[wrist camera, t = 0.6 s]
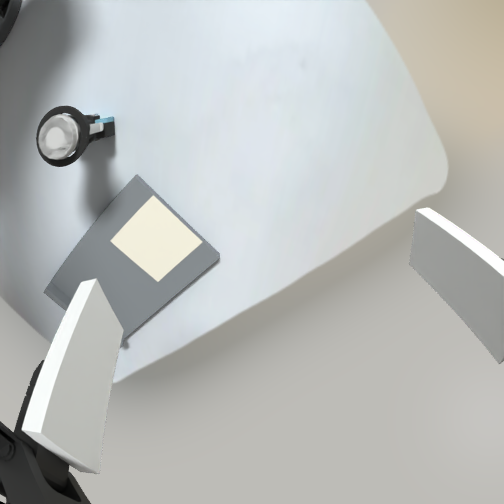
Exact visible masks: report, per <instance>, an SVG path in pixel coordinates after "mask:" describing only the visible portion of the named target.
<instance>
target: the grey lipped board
mask: <svg viewBox="0 0 504 504" xmlns="http://www.w3.org/2000/svg"><path fill="white" fill-rule="evenodd" d="M219 258H220V255H219V252H217V251H216V250H215V249H214V248H213V247H212V246H211V245H210V244H209V243H208V242H207V241H206V240H205V239H204V238H203V237H202V236H201V235H199V234H198V233H197V232H196V231H195V230H194V229H193V228H192V227H191V226H190V225H189V224H188V223H187V222H186V221H185V220H184V219H183V218H182V217H181V216H180V215H178V214H177V213H176V212H175V211H174V210H173V209H172V208H171V207H170V206H169V205H168V204H167V203H166V202H165V201H164V200H163V199H162V198H161V197H160V196H159V195H158V194H157V193H156V192H155V191H154V190H153V189H152V188H151V187H150V186H149V185H147V184H146V183H145V182H144V181H143V180H142V179H141V178H140V177H139V176H138V175H136V176H135V177H134V178H133V179H132V180H131V181H130V182H129V183H128V184H127V185H126V186H125V187H124V189H123V190H122V191H121V192H120V193H119V194H118V195H117V196H116V198H115V199H114V200H113V201H112V202H111V203H110V204H109V206H108V207H107V208H106V209H105V210H104V212H103V213H102V214H101V215H100V216H99V218H98V219H97V220H96V221H95V222H94V224H93V225H92V226H91V227H90V229H89V230H88V231H87V232H86V234H85V235H84V236H83V238H82V239H81V240H80V241H79V243H78V244H77V245H76V247H75V248H74V249H73V251H72V252H71V253H70V255H69V256H68V258H67V259H66V260H65V262H64V263H63V265H62V266H61V267H60V269H59V270H58V272H57V273H56V275H55V276H54V277H53V279H52V280H51V282H50V283H49V285H48V286H47V288H46V289H45V291H44V293H45V294H46V295H47V296H49V297H50V298H51V299H52V300H53V301H55V302H56V303H57V304H58V305H59V306H61V307H62V308H63V309H64V310H66V311H67V309H68V307H69V305H70V303H71V301H72V299H73V297H74V295H75V293H76V291H77V289H78V287H79V285H80V283H81V282H83V281H88V280H92V279H96V278H97V280H98V282H99V284H100V286H101V288H102V290H103V292H104V294H105V296H106V298H107V300H108V302H109V304H110V306H111V308H112V310H113V311H114V313H115V315H116V317H117V319H118V321H119V322H120V324H121V326H122V328H123V329H124V331H123V335H122V340H121V344H120V348H121V347H122V346H123V342H124V339H125V338H126V337H127V336H128V335H129V334H131V333H132V332H133V331H134V330H135V329H136V328H138V327H139V326H140V325H141V324H142V323H143V322H145V321H146V320H147V319H148V318H149V317H150V316H152V315H153V314H154V313H155V312H156V311H157V310H159V309H160V308H161V307H162V306H163V305H164V304H166V303H167V302H168V301H169V300H170V299H172V298H173V297H174V296H175V295H176V294H177V293H179V292H180V291H181V290H182V289H183V288H185V287H186V286H187V285H188V284H189V283H191V282H192V281H193V280H194V279H195V278H196V277H198V276H199V275H200V274H201V273H202V272H204V271H205V270H206V269H207V268H208V267H210V266H211V265H212V264H213V263H214V262H216V261H217V260H218V259H219ZM120 348H119V349H120Z"/></svg>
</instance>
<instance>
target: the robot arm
mask: <svg viewBox="0 0 504 504" xmlns="http://www.w3.org/2000/svg"><path fill="white" fill-rule="evenodd" d="M20 5H21V0H0V46H1V45H2V43H3V42H4V40H5V39H6V37H7V35H8V34H9V32H10V30H11V28H12V26H13V24H14V22H15V19H16V17H17V14H18V12H19V8H20ZM409 265H410V266H411V267H412V268H413V269H414V270H415V271H416V272H417V273H418V274H419V275H420V276H421V277H422V278H423V279H424V280H425V281H426V282H427V283H428V284H429V285H430V286H431V287H432V288H433V289H434V290H435V291H436V292H437V293H438V294H439V295H440V296H441V297H442V298H443V299H444V301H446V303H447V304H448V305H449V306H450V307H451V308H452V309H453V310H454V311H455V312H456V314H457V315H458V316H459V317H460V318H461V319H462V320H463V321H464V322H465V324H466V325H467V326H468V327H469V328H470V329H471V331H472V332H473V333H474V334H475V335H476V336H477V337H478V339H479V340H480V341H481V342H482V344H483V345H484V346H485V347H486V348H487V350H488V351H489V352H490V353H491V355H492V356H493V357H494V358H495V360H496V361H497V362H498V363H499V364H500V363H501V362H503V361H504V259H502V258H500V257H498V256H497V255H495V254H494V253H493V252H491V251H490V250H489V249H488V248H486V247H485V246H484V245H482V244H481V243H480V242H478V241H477V240H476V239H474V238H473V237H472V236H470V235H469V234H467V233H466V232H464V231H463V230H462V229H460V228H459V227H457V226H456V225H454V224H453V223H452V222H450V221H449V220H447V219H445V218H444V217H443V216H441V215H439V214H438V213H436V212H435V211H433V210H432V209H430V208H423V209H418V210H416V211H415V222H414V232H413V240H412V248H411V255H410V262H409ZM123 331H124V329H123V328H122V326H121V324H120V322H119V321H118V319H117V317H116V315H115V313H114V311H113V310H112V308H111V306H110V304H109V302H108V300H107V298H106V296H105V294H104V292H103V290H102V288H101V286H100V284H99V282H98V280H97V278H96V279H92V280H88V281H83V282H81V283H80V285H79V287H78V289H77V291H76V293H75V295H74V297H73V299H72V301H71V303H70V305H69V307H68V309H67V311H66V313H65V315H64V317H63V319H62V322H61V324H60V326H59V328H58V330H57V333H56V335H55V337H54V339H53V342H52V344H51V347H50V349H49V351H48V354H47V356H46V359H45V360H42V362H41V363H40V364H39V366H38V367H37V368H36V370H35V371H34V373H33V376H32V378H31V381H30V386H28V389H27V392H26V395H27V396H25V398H24V401H23V404H22V407H21V410H20V413H19V417H18V420H17V423H16V427H15V430H14V433H13V432H12V431H11V430H10V429H9V428H7V427H6V426H5V425H4V424H3V423H2V422H0V494H1V495H3V496H4V497H6V501H7V502H6V504H91V503H90V501H89V500H88V499H87V497H86V496H85V494H84V492H83V491H82V489H81V487H80V486H79V484H78V482H77V481H76V479H75V478H74V476H73V475H72V474H71V473H70V472H68V471H69V465H70V466H72V467H74V468H75V469H77V470H78V471H80V472H86V473H94V474H100V466H101V455H102V446H103V438H104V430H105V423H106V417H107V410H108V404H109V398H110V392H111V387H112V382H113V377H114V372H115V367H116V362H117V357H118V353H119V348H120V344H121V340H122V335H123ZM0 504H5V503H3V502H1V501H0Z"/></svg>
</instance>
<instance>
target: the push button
mask: <svg viewBox="0 0 504 504" xmlns="http://www.w3.org/2000/svg"><path fill="white" fill-rule="evenodd" d="M63 113H68V114H70V115H63ZM94 115H98V114H93V115H83V114H82V113H81V112H80V111H79V110H77V109H76V108H74V107H71V106H59V107H56V108H54V109H52V110H50V111H49V112H48V113H47V114H46V115H45V116H44V117H43V119H42V120H41V122H40V124H39V127H38V130H37V137H36V141H37V147H38V151H39V153H40V155H41V157H42V158H43V159H44V160H45V161H46V162H47V163H48V164H50V165H52V166H56V167H63V166H67V165H70V164H71V163H73V162H75V161H76V160H77V159H78V158H79V157H80V156H81V155H82V153H83V152H84V151H85V149H86V147H87V146H88V144H89V143H91V142H93V141H97V140H99V138H105V137H109V136H112V135H115V133H114V117H108V118H103V119H100V115H98V116H94ZM75 150H76V151H75ZM74 151H75V153H74V154H73V155H72V156H70V157H67V156H69V155H70V154H71V153H72V152H74Z"/></svg>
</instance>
